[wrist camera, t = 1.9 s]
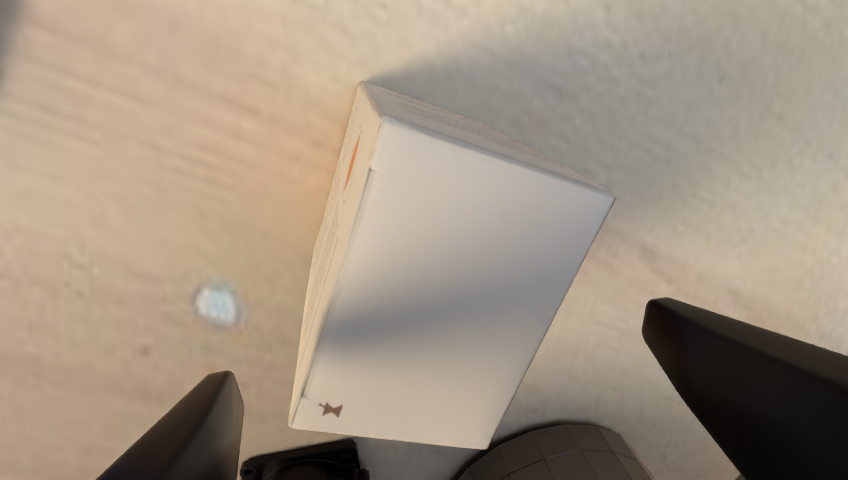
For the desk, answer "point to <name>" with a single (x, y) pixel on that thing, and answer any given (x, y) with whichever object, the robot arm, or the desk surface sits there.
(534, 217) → the small box
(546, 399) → the desk surface
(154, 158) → the desk surface
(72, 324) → the desk surface
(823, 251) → the desk surface
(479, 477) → the pan
